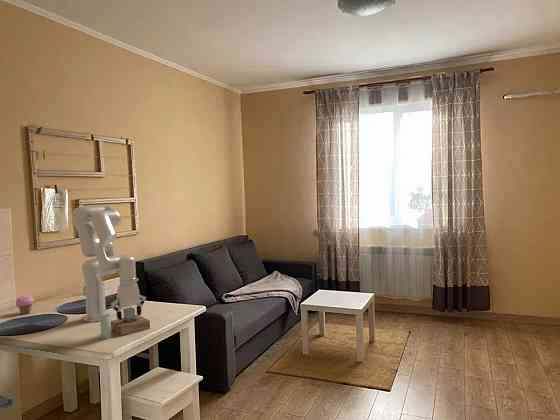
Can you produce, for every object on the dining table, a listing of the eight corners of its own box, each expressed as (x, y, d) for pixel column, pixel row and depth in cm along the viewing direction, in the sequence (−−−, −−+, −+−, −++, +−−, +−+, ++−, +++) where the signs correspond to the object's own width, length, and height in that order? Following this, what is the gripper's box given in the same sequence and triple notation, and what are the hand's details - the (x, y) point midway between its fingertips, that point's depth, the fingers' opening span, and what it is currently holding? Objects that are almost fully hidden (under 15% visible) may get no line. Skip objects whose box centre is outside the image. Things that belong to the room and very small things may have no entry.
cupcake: (33, 314, 234) (32, 296, 234) (15, 316, 231) (14, 298, 230) (35, 310, 242) (34, 292, 242) (17, 312, 239) (16, 294, 238)
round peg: (99, 337, 193) (98, 316, 193) (109, 335, 196) (108, 314, 196) (103, 340, 190) (102, 318, 190) (113, 337, 193) (112, 316, 193)
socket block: (109, 329, 205) (109, 321, 205) (137, 322, 215) (136, 314, 215) (121, 335, 195) (121, 327, 195) (150, 328, 205) (149, 320, 205)
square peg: (127, 330, 202) (126, 310, 202) (124, 328, 205) (123, 308, 205) (135, 328, 205) (134, 308, 205) (132, 326, 208) (131, 306, 208)
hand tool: (119, 301, 259) (119, 292, 259) (125, 301, 257) (125, 292, 257) (89, 311, 238) (89, 301, 238) (96, 312, 236) (95, 302, 236)
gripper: (141, 278, 213) (142, 311, 214) (107, 284, 201) (108, 319, 202) (148, 280, 207) (149, 314, 208) (113, 286, 195) (115, 322, 196)
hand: (129, 317), depth 205 cm, fingers open, 9 cm apart
